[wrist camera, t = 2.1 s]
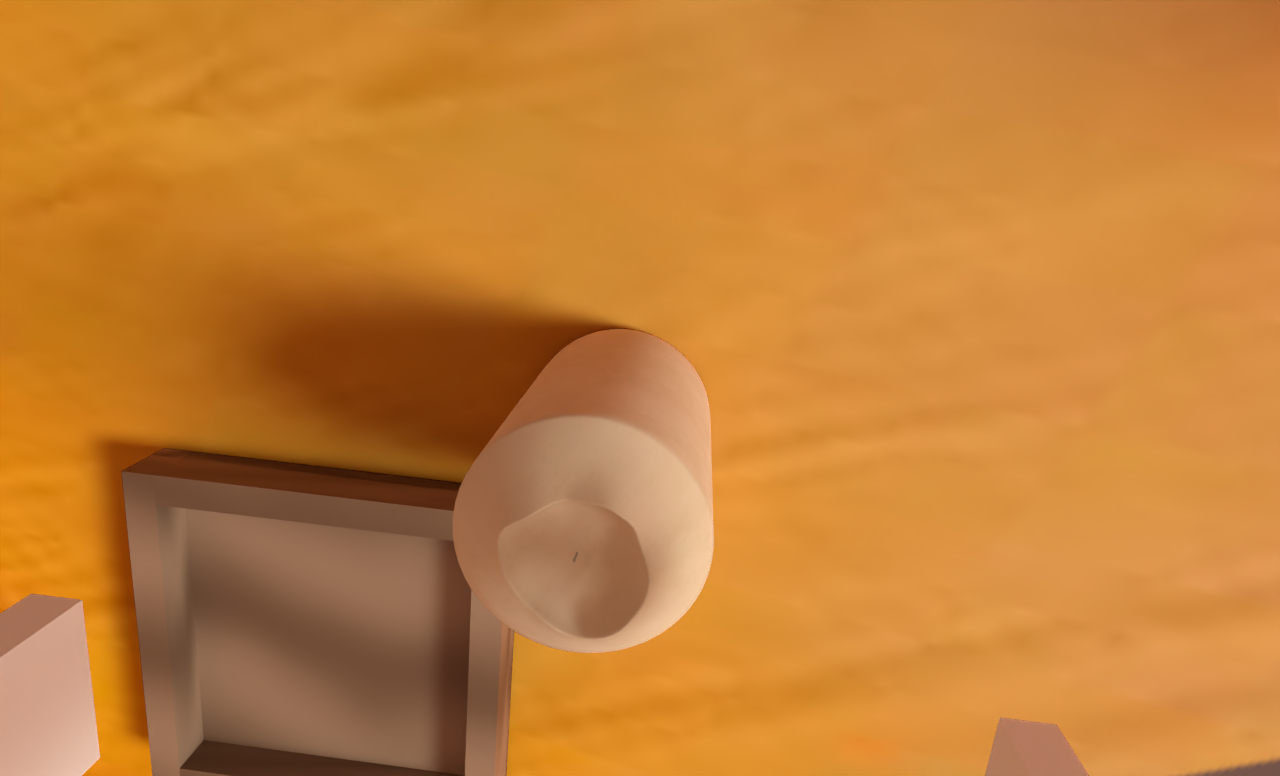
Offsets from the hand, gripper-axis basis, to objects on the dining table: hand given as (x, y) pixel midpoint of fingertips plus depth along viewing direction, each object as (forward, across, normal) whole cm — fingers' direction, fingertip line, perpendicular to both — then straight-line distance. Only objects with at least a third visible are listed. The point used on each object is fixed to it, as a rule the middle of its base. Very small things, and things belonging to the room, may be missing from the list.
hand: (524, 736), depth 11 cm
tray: (+14, -9, -9) cm, 19 cm away
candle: (+14, 0, 0) cm, 14 cm away
